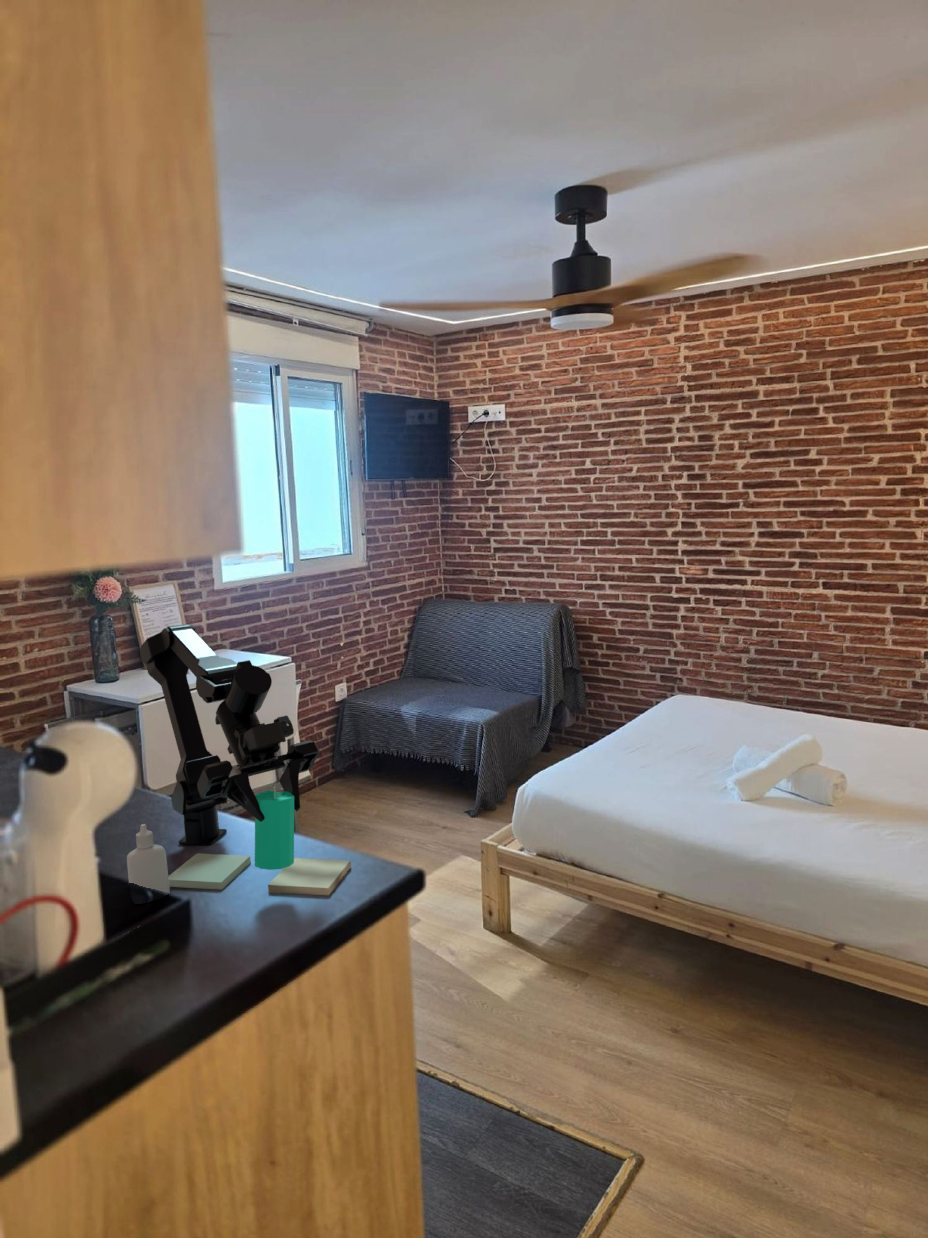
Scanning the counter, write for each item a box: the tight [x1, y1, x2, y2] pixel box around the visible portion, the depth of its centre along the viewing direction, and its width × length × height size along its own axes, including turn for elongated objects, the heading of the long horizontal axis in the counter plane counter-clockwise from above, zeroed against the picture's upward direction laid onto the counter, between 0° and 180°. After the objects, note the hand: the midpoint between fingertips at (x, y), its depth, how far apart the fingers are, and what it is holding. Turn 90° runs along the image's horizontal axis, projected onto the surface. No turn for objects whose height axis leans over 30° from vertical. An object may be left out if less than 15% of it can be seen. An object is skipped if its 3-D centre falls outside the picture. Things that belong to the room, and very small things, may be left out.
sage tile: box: [168, 853, 251, 891], centre depth 136 cm, size 10×10×1 cm
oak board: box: [267, 857, 352, 896], centre depth 132 cm, size 10×10×1 cm
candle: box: [254, 785, 295, 871], centre depth 126 cm, size 6×6×12 cm
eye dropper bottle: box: [126, 823, 171, 894], centre depth 127 cm, size 4×6×12 cm
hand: (280, 815), depth 125 cm, fingers closed on candle, 6 cm apart
